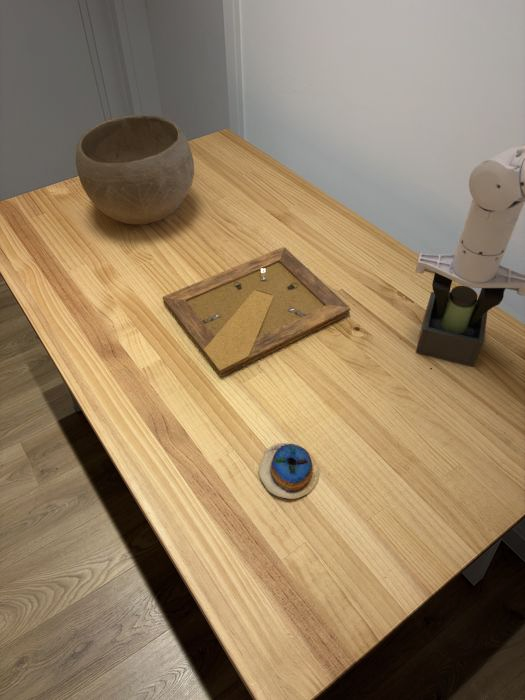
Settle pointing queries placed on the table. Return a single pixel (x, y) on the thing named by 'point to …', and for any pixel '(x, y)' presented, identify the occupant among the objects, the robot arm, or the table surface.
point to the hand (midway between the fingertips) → (456, 317)
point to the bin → (450, 338)
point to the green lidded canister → (458, 309)
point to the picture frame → (254, 309)
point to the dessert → (288, 471)
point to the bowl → (135, 167)
